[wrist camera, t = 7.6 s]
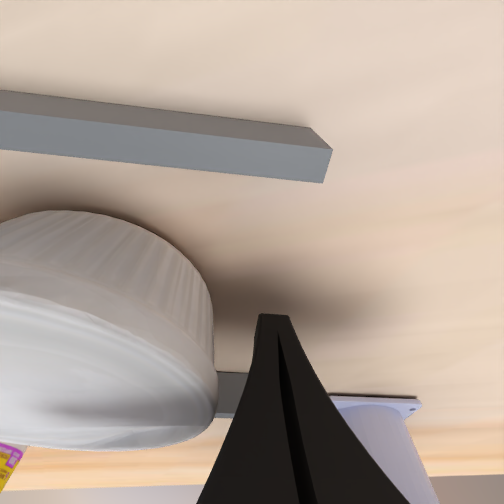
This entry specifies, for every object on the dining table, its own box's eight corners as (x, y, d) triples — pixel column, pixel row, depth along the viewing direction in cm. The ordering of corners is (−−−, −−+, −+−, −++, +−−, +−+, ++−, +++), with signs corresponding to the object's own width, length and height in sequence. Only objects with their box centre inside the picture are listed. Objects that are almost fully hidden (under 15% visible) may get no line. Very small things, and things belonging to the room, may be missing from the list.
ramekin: (134, 368, 17) (95, 468, 12) (-63, 269, 11) (-255, 391, 7) (270, 308, 13) (281, 423, 9) (77, 111, 7) (-159, 169, 3)
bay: (252, 378, 17) (252, 418, 15) (37, 369, 16) (8, 410, 14) (310, 128, 7) (332, 149, 5) (-233, 60, 6) (-451, 57, 4)
